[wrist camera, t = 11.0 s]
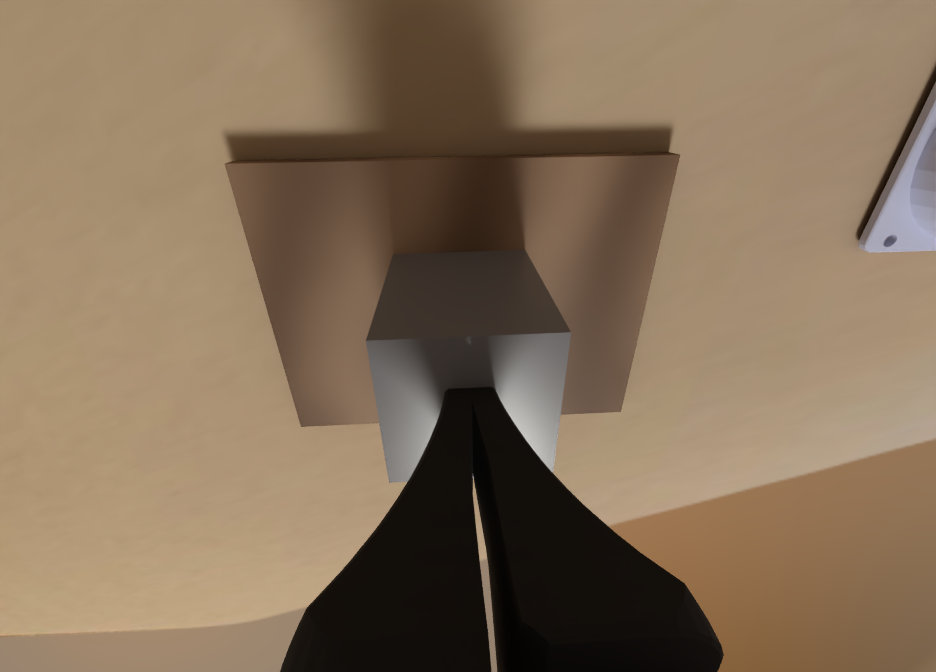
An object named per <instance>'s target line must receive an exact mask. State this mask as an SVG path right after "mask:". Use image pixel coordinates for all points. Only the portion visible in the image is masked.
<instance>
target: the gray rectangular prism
mask: <svg viewBox="0 0 936 672" xmlns="http://www.w3.org/2000/svg"><path fill="white" fill-rule="evenodd" d="M570 338H571V331H570V329H569V327H568V326H567V324H566V322H565V320H564V318H563V317H562V315H561V313H560V311H559V309H558V308H557V306H556V304H555V302H554V300H553V299H552V297H551V295H550V293H549V291H548V290H547V288H546V286H545V284H544V283H543V281H542V279H541V277H540V275H539V274H538V272H537V270H536V268H535V266H534V265H533V263H532V261H531V259H530V257H529V256H528V254H527V252H526V250H505V251H474V252H444V253H413V254H393V256H392V259H391V262H390V266H389V269H388V272H387V275H386V278H385V281H384V285H383V288H382V291H381V294H380V297H379V300H378V304H377V307H376V310H375V313H374V316H373V319H372V323H371V326H370V329H369V332H368V335H367V338H366V345H367V351H368V357H369V363H370V369H371V375H372V381H373V387H374V394H375V400H376V406H377V412H378V418H379V424H380V430H381V436H382V442H383V448H384V454H385V460H386V466H387V472H388V478H389V483H390V482H408V481H409V479H410V477H411V475H412V474H413V472H414V470H415V468H416V466H417V464H418V462H419V460H420V458H421V456H422V454H423V452H424V450H425V448H426V446H427V444H428V442H429V440H430V437H431V435H432V433H433V430H434V428H435V425H436V423H437V420H438V417H439V414H440V411H441V408H442V404H443V400H444V393H445V391H447V390H448V389H455V388H478V387H493V388H494V389H495V390H496V392H497V394H498V396H499V398H500V400H501V402H502V404H503V406H504V407H505V409H506V411H507V412H508V414H509V416H510V417H511V419H512V420H513V422H514V423H515V425H516V426H517V428H518V429H519V431H520V432H521V434H522V435H523V436H524V438H525V439H526V441H527V442H528V443H529V445H530V446H531V447H532V449H533V450H534V451H535V452H536V454H537V455H538V456H539V457H540V459H541V460H542V461H543V462H544V464H545V465H546V466H547V467H548V468H549V469H550V471H551V472H552V473H553V468H554V460H555V453H556V445H557V437H558V430H559V422H560V415H561V407H562V399H563V392H564V384H565V376H566V369H567V361H568V353H569V346H570ZM473 478H474V477H473Z"/></svg>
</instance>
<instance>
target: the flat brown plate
mask: <svg viewBox="0 0 936 672" xmlns="http://www.w3.org/2000/svg"><path fill="white" fill-rule="evenodd" d="M679 158H680V155H679V154H674V153H670V152H662V153H611V154H559V155H508V156H456V157H405V158H353V159H301V160H250V161H232V162H229V163H226V164H225V167H226V170H227V174H228V177H229V180H230V184H231V187H232V191H233V194H234V198H235V201H236V205H237V208H238V211H239V215H240V218H241V222H242V225H243V229H244V232H245V235H246V239H247V242H248V246H249V249H250V253H251V256H252V260H253V263H254V266H255V270H256V273H257V277H258V280H259V284H260V287H261V290H262V294H263V297H264V301H265V304H266V308H267V311H268V315H269V318H270V321H271V325H272V328H273V332H274V335H275V339H276V342H277V345H278V349H279V352H280V356H281V359H282V363H283V366H284V369H285V373H286V376H287V380H288V383H289V387H290V390H291V394H292V397H293V400H294V404H295V407H296V411H297V414H298V418H299V421H300V424H301V427H306V426H328V425H349V424H370V423H379V418H378V412H377V406H376V400H375V394H374V387H373V381H372V375H371V369H370V363H369V357H368V351H367V345H366V338H367V335H368V332H369V329H370V326H371V323H372V319H373V316H374V313H375V310H376V307H377V304H378V300H379V297H380V294H381V291H382V288H383V285H384V281H385V278H386V275H387V272H388V269H389V266H390V262H391V259H392V256H393V254H413V253H444V252H474V251H505V250H526V252H527V254H528V256H529V257H530V259H531V261H532V263H533V265H534V266H535V268H536V270H537V272H538V274H539V275H540V277H541V279H542V281H543V283H544V284H545V286H546V288H547V290H548V291H549V293H550V295H551V297H552V299H553V300H554V302H555V304H556V306H557V308H558V309H559V311H560V313H561V315H562V317H563V318H564V320H565V322H566V324H567V326H568V327H569V329H570V331H571V338H570V346H569V353H568V361H567V369H566V376H565V384H564V392H563V399H562V407H561V415H562V414H584V413H605V412H621V409H622V404H623V400H624V396H625V391H626V387H627V383H628V378H629V374H630V370H631V365H632V361H633V357H634V352H635V348H636V344H637V339H638V335H639V331H640V326H641V322H642V318H643V313H644V309H645V305H646V300H647V296H648V292H649V287H650V283H651V279H652V275H653V270H654V266H655V262H656V257H657V253H658V249H659V244H660V240H661V236H662V231H663V227H664V223H665V218H666V214H667V210H668V205H669V201H670V197H671V192H672V188H673V184H674V179H675V175H676V171H677V166H678V162H679Z"/></svg>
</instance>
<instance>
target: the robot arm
mask: <svg viewBox="0 0 936 672" xmlns="http://www.w3.org/2000/svg"><path fill="white" fill-rule="evenodd" d="M887 237H888V238H887ZM886 238H887V239H886ZM885 239H886V240H885ZM859 247H860V248H861V249H862V250H865V251H867V252H903V251H935V250H936V82H935V84H934V86H933V88H932V91H931V93H930V95H929V97H928V99H927V101H926V103H925V105H924V107H923V109H922V111H921V113H920V115H919V117H918V120H917V122H916V124H915V126H914V128H913V130H912V132H911V134H910V136H909V138H908V140H907V142H906V144H905V146H904V149H903V151H902V153H901V155H900V157H899V159H898V161H897V163H896V165H895V167H894V169H893V171H892V173H891V176H890V178H889V180H888V182H887V184H886V186H885V188H884V190H883V192H882V194H881V196H880V198H879V200H878V202H877V205H876V207H875V209H874V211H873V213H872V215H871V217H870V219H869V221H868V223H867V225H866V227H865V229H864V232H863V234H862V236H861V238H860V241H859ZM473 477H474V482H475V488H476V494H477V500H478V505H479V511H480V517H481V522H482V528H483V534H484V539H485V545H486V551H487V559H488V566H489V576H490V588H491V599H492V611H493V623H494V635H495V647H496V660H497V672H717V671H718V669H719V667H720V664H721V661H722V659H723V651H722V647H721V644H720V642H719V640H718V638H717V636H716V634H715V632H714V630H713V629H712V627H711V625H710V623H709V621H708V619H707V618H706V616H705V614H704V613H703V611H702V610H701V608H700V606H699V605H698V603H697V602H696V600H695V599H694V597H693V595H692V594H691V593H690V591H689V589H688V588H687V586H686V585H685V584H684V583H683V582H682V581H680V580H679V579H677V578H676V577H675V576H673V575H672V574H670V573H669V572H667V571H666V570H664V569H663V568H661V567H660V566H658V565H657V564H656V563H655V562H653V561H652V560H650V559H649V558H647V557H646V556H644V555H643V554H641V553H640V552H639V551H637V550H636V549H635V548H634V547H633V546H631V545H630V544H629V543H627V542H626V541H625V540H624V539H622V538H621V537H620V536H619V535H617V534H616V533H615V532H614V531H613V530H612V529H610V528H609V527H608V526H607V525H606V524H605V523H604V522H603V521H601V520H600V519H599V518H598V517H597V516H596V515H595V514H593V513H592V512H591V511H590V510H589V509H588V508H587V507H585V506H584V505H583V504H582V503H581V502H580V501H579V500H578V499H577V498H576V497H575V496H574V495H573V494H572V493H571V492H570V491H569V490H568V489H567V488H566V487H565V486H564V485H563V484H562V483H561V481H560V480H559V479H558V478H557V477H556V476H555V475H554V474H553V473H552V472H551V471H550V469H549V468H548V467H547V466H546V465H545V464H544V462H543V461H542V460H541V459H540V457H539V456H538V455H537V454H536V452H535V451H534V450H533V449H532V447H531V446H530V445H529V443H528V442H527V441H526V439H525V438H524V436H523V435H522V434H521V432H520V431H519V429H518V428H517V426H516V425H515V423H514V422H513V420H512V419H511V417H510V416H509V414H508V412H507V411H506V409H505V407H504V406H503V404H502V402H501V400H500V398H499V396H498V394H497V392H496V390H495V389H494V388H493V387H478V388H455V389H448V390H447V391H445V393H444V400H443V404H442V408H441V411H440V414H439V417H438V420H437V423H436V425H435V428H434V430H433V433H432V435H431V437H430V440H429V442H428V444H427V446H426V448H425V450H424V452H423V454H422V456H421V458H420V460H419V462H418V464H417V466H416V468H415V470H414V472H413V474H412V475H411V477H410V479H409V481H408V482H407V484H406V485H405V487H404V489H403V490H402V492H401V494H400V495H399V497H398V498H397V500H396V501H395V503H394V504H393V506H392V507H391V509H390V510H389V511H388V513H387V514H386V516H385V517H384V519H383V520H382V521H381V523H380V524H379V526H378V527H377V528H376V530H375V531H374V532H373V533H372V535H371V536H370V537H369V538H368V540H367V541H366V542H365V543H364V545H363V546H362V547H361V548H360V549H359V551H358V552H357V553H356V554H355V556H354V557H353V558H352V559H351V561H350V562H349V563H348V564H347V565H346V566H345V567H344V569H343V570H342V571H341V572H340V573H339V574H338V575H337V576H336V577H335V578H334V580H333V581H332V582H331V583H330V584H329V585H328V586H327V587H326V588H325V589H324V590H323V591H322V592H321V593H320V595H319V596H318V597H317V598H316V599H315V600H314V601H313V602H312V603H311V604H310V605H309V606H308V607H307V609H306V611H305V613H304V615H303V617H302V619H301V621H300V623H299V625H298V627H297V630H296V632H295V634H294V637H293V639H292V641H291V644H290V646H289V649H288V651H287V654H286V657H285V659H284V662H283V664H282V668H281V671H280V672H491V662H490V650H489V639H488V629H487V620H486V612H485V604H484V596H483V587H482V579H481V570H480V561H479V552H478V542H477V533H476V523H475V513H474V503H473Z"/></svg>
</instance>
